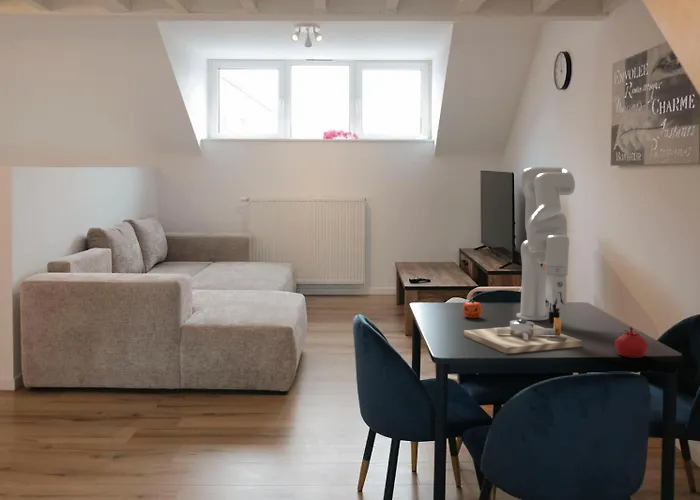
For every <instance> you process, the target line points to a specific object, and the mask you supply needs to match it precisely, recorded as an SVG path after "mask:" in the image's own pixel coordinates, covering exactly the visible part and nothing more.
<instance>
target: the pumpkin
mask: <svg viewBox="0 0 700 500" xmlns="http://www.w3.org/2000/svg"><path fill="white" fill-rule="evenodd" d="M461 309H462V313H463V315H464V316H465V317H466V318H468V319H477V318H480V317H481V315H482V313H483V305H482V304H481V303H480V302H479V301H477V302H476V301H474V300H473V299H471V301H466V302H465V303H464V304H463V305H462V308H461Z"/></svg>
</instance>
